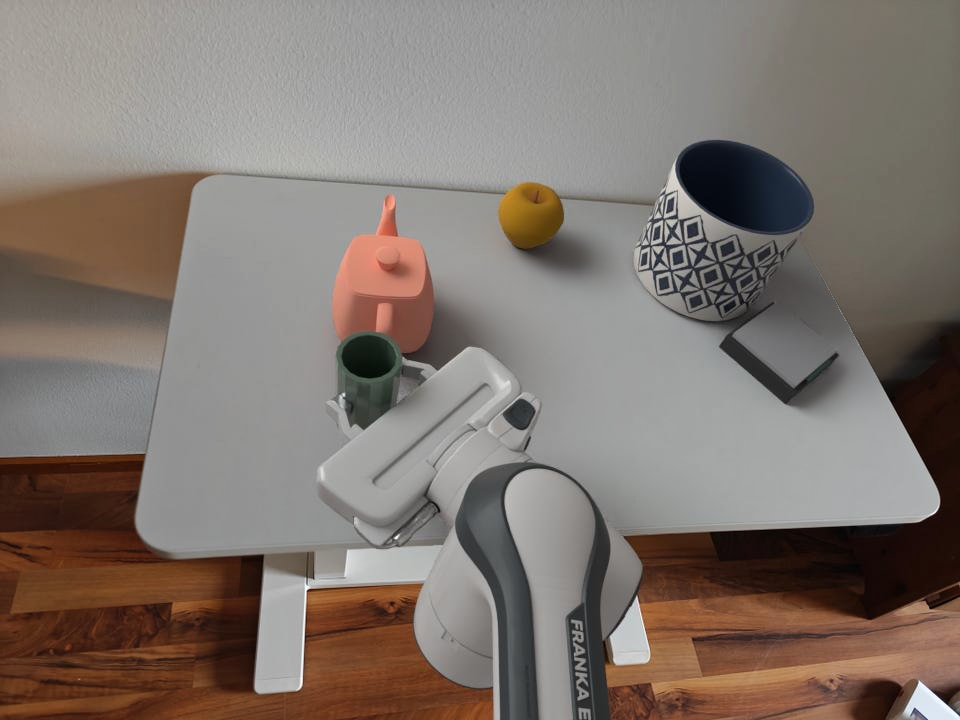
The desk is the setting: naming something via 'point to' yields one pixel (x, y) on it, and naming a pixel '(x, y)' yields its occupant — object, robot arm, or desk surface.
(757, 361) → the scale
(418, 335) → the teapot
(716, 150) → the planter
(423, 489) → the robot arm
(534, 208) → the apple
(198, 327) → the desk surface
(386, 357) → the cup
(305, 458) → the desk surface
